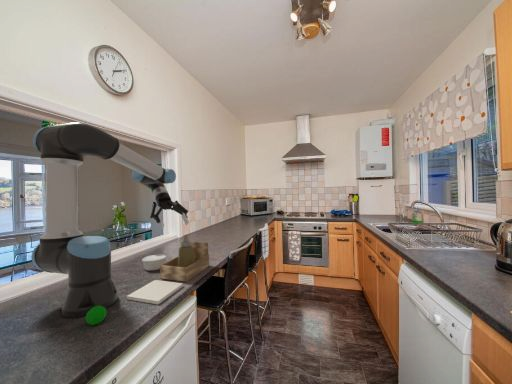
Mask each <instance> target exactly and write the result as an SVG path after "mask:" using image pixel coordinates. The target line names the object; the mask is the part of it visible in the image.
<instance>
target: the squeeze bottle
mask: <svg viewBox="0 0 512 384" xmlns="http://www.w3.org/2000/svg"><path fill="white" fill-rule="evenodd" d="M191 242H192V241H189V237H188V234H184V236H183V241H182V242H180V247H179V248H178V256H177V257H178V267H185V268H186V267H188V266H190V265H191V264H193V263H195V259H194V251H193V247H192V246H191Z"/></svg>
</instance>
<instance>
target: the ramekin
mask: <svg viewBox="0 0 512 384" xmlns="http://www.w3.org/2000/svg"><path fill="white" fill-rule="evenodd" d="M166 259H167V256H166V255H165V254H152V255H147V256H145V257H143V258H142V259H141V262H142V265H143V269H144V270H145V271H148V272H149V271H151V272H152V271H156V270H157V271H158V270H160V265H162V264H164V263H166Z"/></svg>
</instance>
